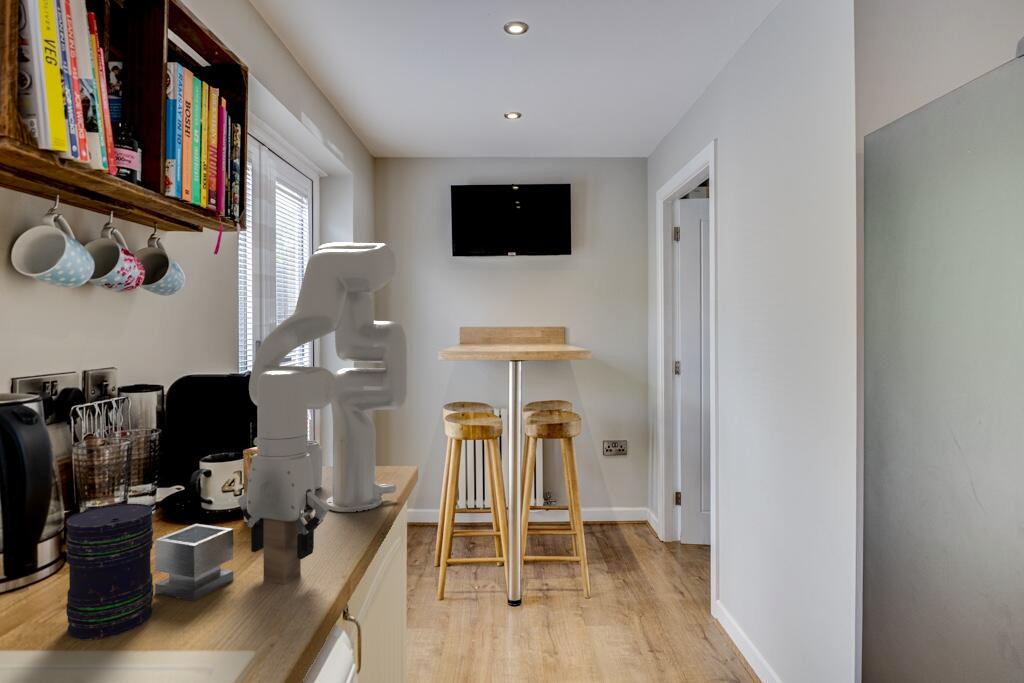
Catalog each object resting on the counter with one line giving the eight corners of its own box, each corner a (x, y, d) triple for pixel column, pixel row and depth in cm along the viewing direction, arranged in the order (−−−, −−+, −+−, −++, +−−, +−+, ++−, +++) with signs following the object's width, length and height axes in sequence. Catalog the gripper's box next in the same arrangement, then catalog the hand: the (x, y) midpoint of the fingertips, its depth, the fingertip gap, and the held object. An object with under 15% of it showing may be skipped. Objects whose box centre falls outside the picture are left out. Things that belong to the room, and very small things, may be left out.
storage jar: (61, 620, 79) (60, 513, 79) (144, 597, 86) (143, 499, 86) (72, 649, 72) (71, 532, 72) (161, 622, 79) (161, 515, 79)
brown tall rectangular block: (280, 570, 96) (280, 505, 96) (300, 574, 95) (300, 508, 95) (263, 580, 92) (263, 513, 92) (284, 584, 91) (284, 515, 91)
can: (328, 486, 147) (328, 440, 147) (308, 494, 140) (308, 445, 140) (304, 483, 149) (304, 438, 149) (283, 491, 142) (283, 443, 142)
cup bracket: (196, 573, 95) (196, 523, 94) (233, 579, 92) (233, 528, 92) (155, 593, 87) (155, 539, 87) (194, 601, 85) (194, 545, 85)
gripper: (221, 447, 92) (221, 554, 92) (313, 455, 87) (313, 568, 87) (255, 438, 99) (255, 538, 99) (342, 445, 94) (341, 550, 94)
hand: (282, 552), depth 93 cm, fingers open, 8 cm apart
